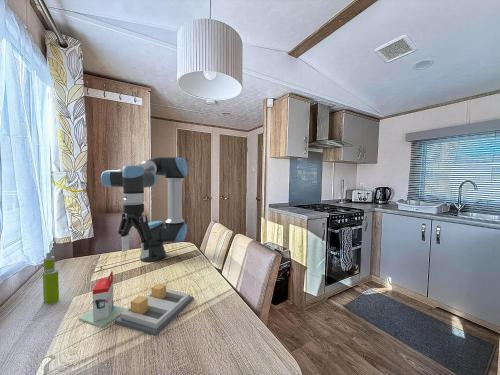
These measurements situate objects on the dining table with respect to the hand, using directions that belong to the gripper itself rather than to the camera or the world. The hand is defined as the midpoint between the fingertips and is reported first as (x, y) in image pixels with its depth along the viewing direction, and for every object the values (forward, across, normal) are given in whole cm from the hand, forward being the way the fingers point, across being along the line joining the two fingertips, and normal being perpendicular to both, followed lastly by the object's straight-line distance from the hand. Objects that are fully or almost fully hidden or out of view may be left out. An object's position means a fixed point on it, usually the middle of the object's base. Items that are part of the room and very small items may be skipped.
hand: (134, 254), depth 87 cm
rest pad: (+20, -1, -12) cm, 23 cm away
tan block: (+19, +9, +5) cm, 21 cm away
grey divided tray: (+20, +14, +1) cm, 24 cm away
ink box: (+20, -1, -12) cm, 23 cm away
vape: (+20, -29, -18) cm, 40 cm away
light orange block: (+18, +11, -5) cm, 22 cm away
